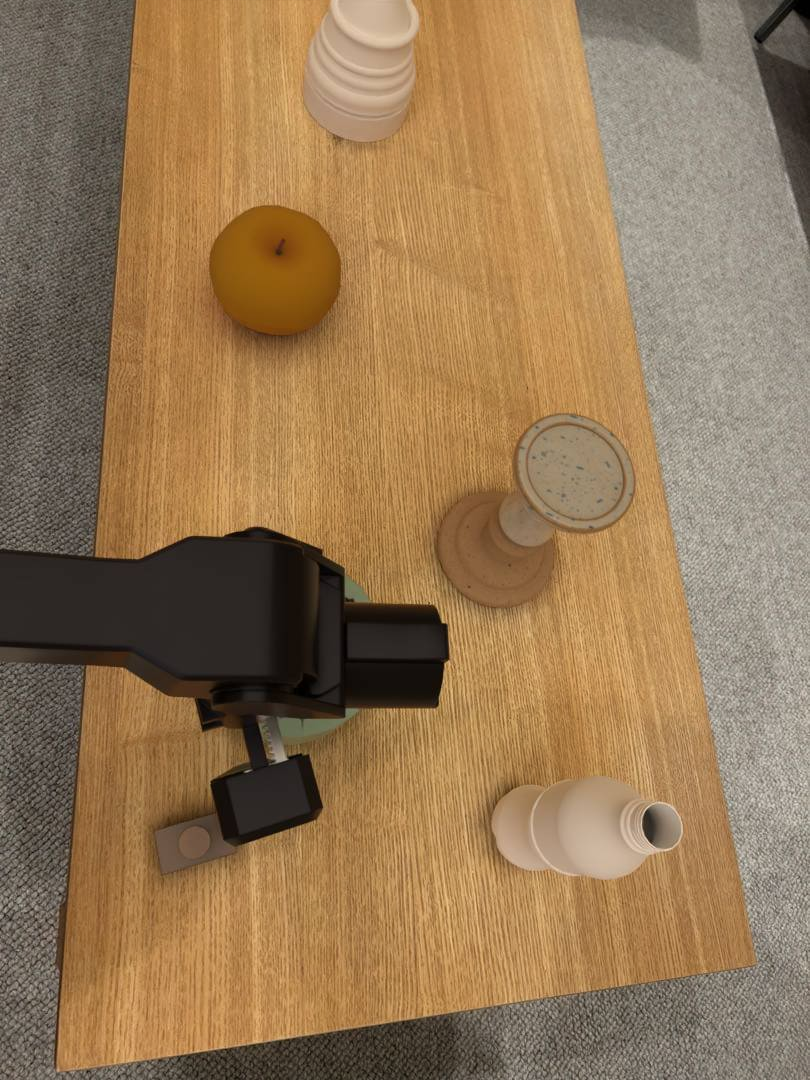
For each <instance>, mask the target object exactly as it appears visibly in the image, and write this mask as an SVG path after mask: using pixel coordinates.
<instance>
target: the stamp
mask: <svg viewBox="0 0 810 1080" xmlns="http://www.w3.org/2000/svg"><path fill="white" fill-rule="evenodd" d="M153 837H154V843H155V847H156V854H157V858H158V863H159V870H160V875H161V876H166V875H169V874H172V873H175V872H178V871H182V870H185V869H188V868H191V867H194V866H198V865H201V864H205V863H208V862H211V861H215V860H218V859H221V858H224V857H228V856H230V855H231V856H232V855H234V854H237V853H238V851H237V849H238V848H237V846H236V847H234V846H232V845H231V844H229V843H227V842H225V841H223V839H222V835H221V831H220V827H219V822H218V818H217V814H216V812H212V813H209V814H206V815H202V816H198V817H196V818H191V819H189V820H185V821H182V822H177V823H174V824H171V825H167V826H164V827H161V828H158V829H154V830H153Z"/></svg>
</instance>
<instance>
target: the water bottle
mask: <svg viewBox="0 0 810 1080" xmlns="http://www.w3.org/2000/svg"><path fill="white" fill-rule="evenodd" d="M493 809H494V810H493V812H492V815H491V816H492V817H491V822H490V825H491V830H492V833H493V835H494V838H495V841H496V843H495V845H496V848H497V851H498V852H499V853H500V854H501V856H502V857H503V858H504V859H505V860H507V862H509V863H510V864H512V865H513V866H515V867H517V868H519V869H522V870H526V871H528V872H529V871H530V872H542V871H547V870H551V871H553V872H556V873H557V874H561V875H565V876H569V877H580V876H581V877H582V876H583V877H588V878H592V879H596V880H604V881H610V880H616V879H617V880H618V879H621V878H624V877H625V876H628V875H629V874H632V873H633V872H635V871H636V870H637V869H639V867H640V866H641V865H643V863H644V862H645V861H646V860H647V858H648V856H652V855H654V854H657V853H659V852H660V853H661V852H668V851H670V850H673V849H674V848H676V847H677V846H678V845H679V844H680V842H681V840H682V838H683V833H684V832H683V830H684V829H683V828H684V824H683V822H682V818H681V815H680V814H679V813H678V811H677V810H676V808H675V807H674V806H673V805H672V804H670V803H668V802H663V801H658V800H657V801H656V800H655V801H654V800H652V799H651V798H647V797H643V796H642V795H641V794H640V793H639V792H638V791H637V790H636V789H634V788H633V787H632V786H631V785H629V784H628V783H627V782H625V781H622V780H621V779H618V778H616V777H612V776H607V775H589V776H584V777H581V778H579V779H578V778H577V779H574V778H568V779H563V780H560V781H557V782H554V783H553V784H551V785H549V786H548V787H545V786H542V785H539V784H523V785H521V786H517V787H515V788H513V789H511V790H510V791H508V793H506V794H505V795H504V796H501V798H500V799H499V801H498V802H497V804H496V805H495V807H494V808H493Z"/></svg>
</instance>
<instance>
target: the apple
mask: <svg viewBox="0 0 810 1080" xmlns="http://www.w3.org/2000/svg"><path fill="white" fill-rule="evenodd" d="M208 264H209V265H208V271H209V278H210V281H211V286H212V290H213V293H214V295H215V297H216V299H217V301H218V303H219V304H220V307H222V309H223V311H224V312H225V313H226V315H228V316H229V317H230V318H231V319H232V320H233V321H234V322H237V323H238V324H240V325H242V326H243V327H246V328H247V329H250V330H253V331H257V332H259V333H263V334H267V335H272V336H290V335H293V334H297V333H301V332H305V331H307V330H308V329H311V328H313V327H315V326H317V325H318V324H320V322H322V320H323V319H324V318H325V317H326V316H327V314H328V313H329V312H330V311H331V310H332V308H333V306H334V304H335V303H336V301H337V299H338V297H339V295H340V290H341V283H342V281H341V280H342V279H341V278H342V277H341V276H342V259H341V256H340V252H339V250H338V248H337V245H336V243H335V242H334V240H333V239H332V236H331V235H330V234H329V232H328V231H327V230H326V229H325V228H324V227H323V225H322V224H321V223H320V222H319V221H318V220H317V219H315V218H313V217H311V216H310V215H308V214H307V213H305V212H302V211H299V210H295V209H293V208H289V207H286V206H283V205H278V204H263V205H259V206H254V207H251V208H248V209H247V210H244V211H243V212H242V213H240V214H239V215H237V216H236V217H234V218H233V219H232V220H231V221H229V222H228V224H227V225H226V226H225V227H224V228H223V230H222V231H220V232H219V234H218V236H217V237H216V238H215V240H214V241H213V244H212V247H211V249H210V251H209V263H208Z"/></svg>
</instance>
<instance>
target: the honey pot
mask: <svg viewBox="0 0 810 1080" xmlns="http://www.w3.org/2000/svg"><path fill="white" fill-rule="evenodd" d="M420 22H421V19H420V15H419V11H418V8H417V7H416V5H415V4H414V2H413V1H412V0H329V10H328V11H327V12H326V13H324V16H323V18H322V19H321V22H320V25H319V27H318V29H317V30H316V32H315V33H314V35H313V37H312V39H311V40H310V42H309V44H308V47H307V55H306V63H305V70H304V77H303V85H302V92H301V93H302V99H303V103H304V106H305V108H306V109H307V111H308V113H309V115H310V116H311V117H312V118H313V119H314V120H315V122H316V123H317V124H318V125H319V126H320V127H322V128H323V129H325V130H326V131H328V132H329V133H330V134H332V135H335V136H337V137H339V138H342V139H345V140H348V141H353V142H357V143H373V142H379V141H383V140H385V139H387V138H390V137H391V136H394V135H395V134H396V133H397V132H398V131H399V130H400V129H401V128H402V126H403V124H404V123H405V120H406V118H407V114H408V110H409V106H410V103H411V99H412V96H413V92H414V88H415V85H416V74H417V69H416V65H415V54H414V52H415V44H414V43H415V42H414V40H415V39H416V37H417V35H418V33H419V31H420Z"/></svg>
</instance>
